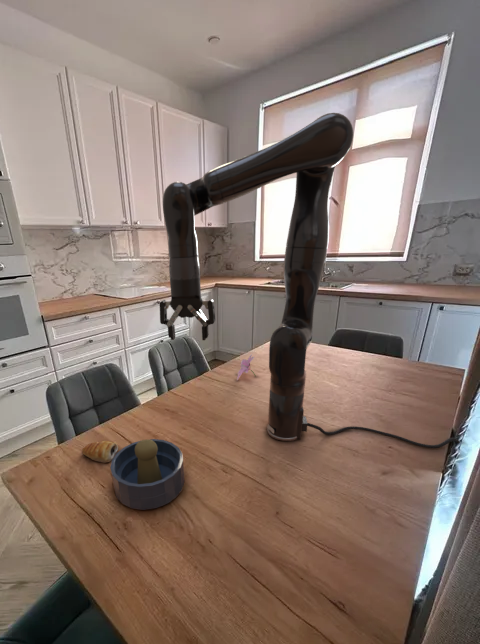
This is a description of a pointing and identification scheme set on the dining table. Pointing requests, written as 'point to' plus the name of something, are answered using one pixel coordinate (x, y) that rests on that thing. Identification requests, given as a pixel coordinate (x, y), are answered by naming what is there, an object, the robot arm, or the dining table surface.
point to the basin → (149, 493)
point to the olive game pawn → (147, 462)
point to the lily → (245, 366)
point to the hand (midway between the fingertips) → (188, 339)
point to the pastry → (100, 451)
